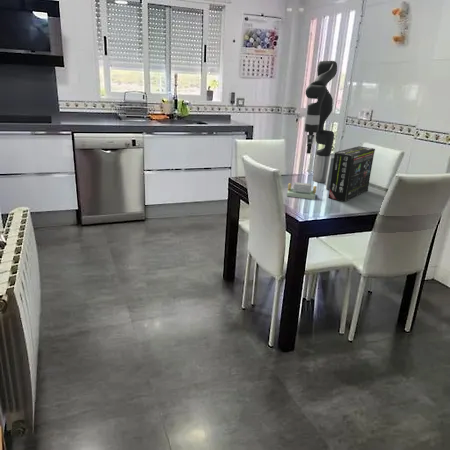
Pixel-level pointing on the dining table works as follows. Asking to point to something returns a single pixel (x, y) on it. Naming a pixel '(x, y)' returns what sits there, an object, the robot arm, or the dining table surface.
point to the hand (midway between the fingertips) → (308, 152)
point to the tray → (308, 196)
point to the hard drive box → (329, 171)
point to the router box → (351, 173)
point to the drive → (301, 188)
